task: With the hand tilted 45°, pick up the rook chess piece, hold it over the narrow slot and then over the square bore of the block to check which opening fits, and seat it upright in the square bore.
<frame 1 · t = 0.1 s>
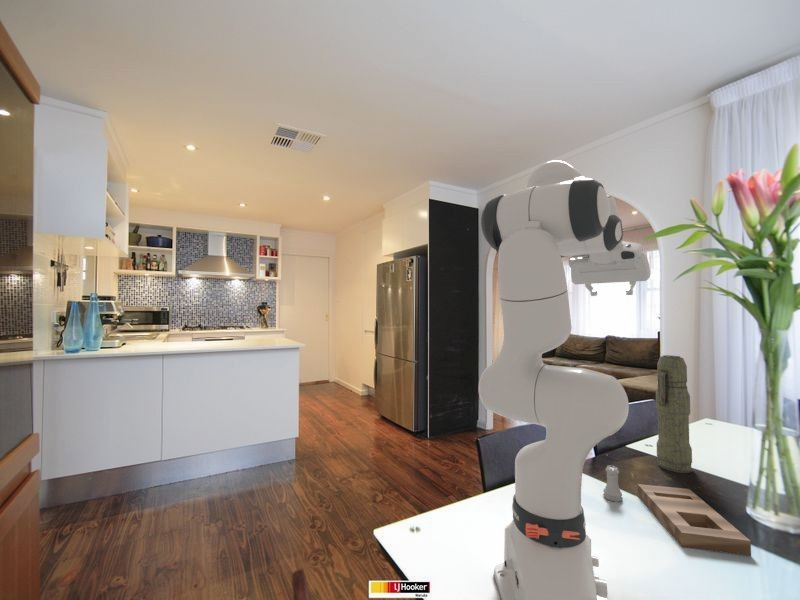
hand: (611, 294, 109), 54 cm above the table, tool tilted 30°, fingers open, 8 cm apart
rook chess piece: (612, 499, 95), on the table
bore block: (686, 521, 84), on the table
thermos: (674, 467, 115), on the table
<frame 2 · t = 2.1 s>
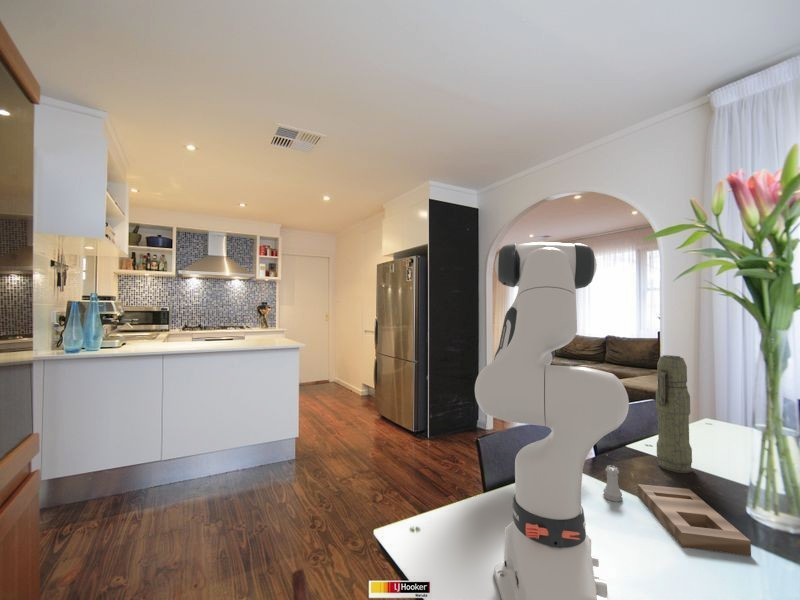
hand: (571, 427, 107), 15 cm above the table, tool tilted 45°, fingers open, 8 cm apart
nothing on the table moved.
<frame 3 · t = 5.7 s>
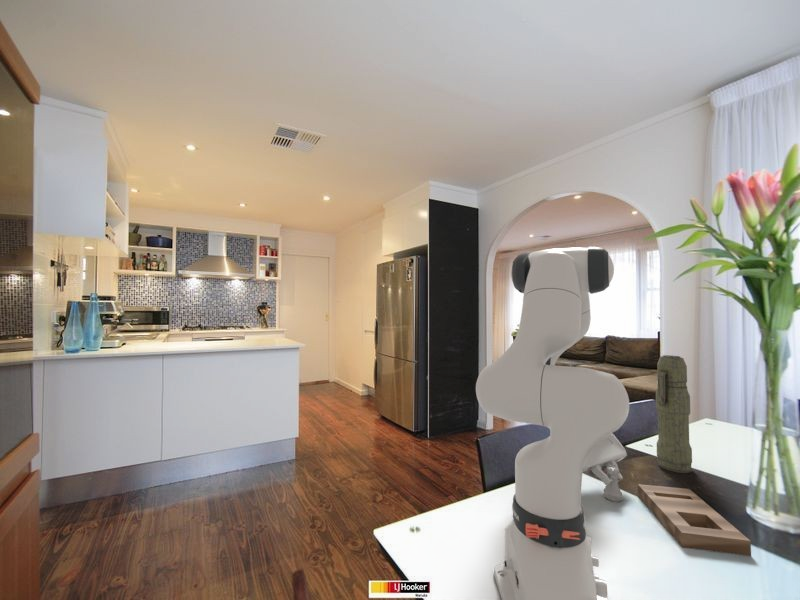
hand: (614, 482, 95), 4 cm above the table, tool tilted 45°, fingers closed on rook chess piece, 3 cm apart
rook chess piece: (612, 498, 95), on the table, touching gripper
everything else where it was.
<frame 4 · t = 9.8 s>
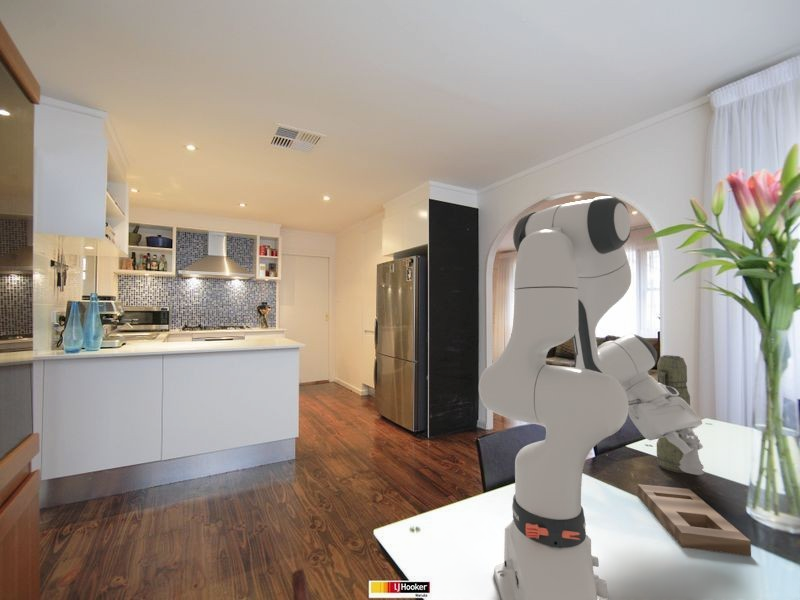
hand: (694, 450, 81), 18 cm above the table, tool tilted 45°, fingers closed on rook chess piece, 3 cm apart
rook chess piece: (691, 472, 82), point 13 cm above the table, touching gripper
everything else where it was.
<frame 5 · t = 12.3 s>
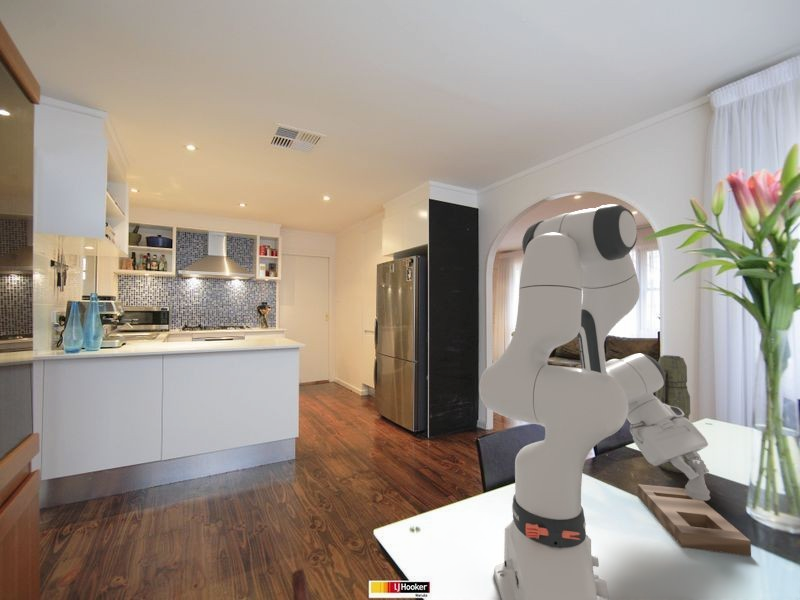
hand: (700, 476, 80), 13 cm above the table, tool tilted 45°, fingers closed on rook chess piece, 3 cm apart
rook chess piece: (697, 497, 80), point 8 cm above the table, touching gripper
everything else where it was.
when the fingers open (6 cm above the table, at t = 14.2 s): rook chess piece drops 1 cm, resting in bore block.
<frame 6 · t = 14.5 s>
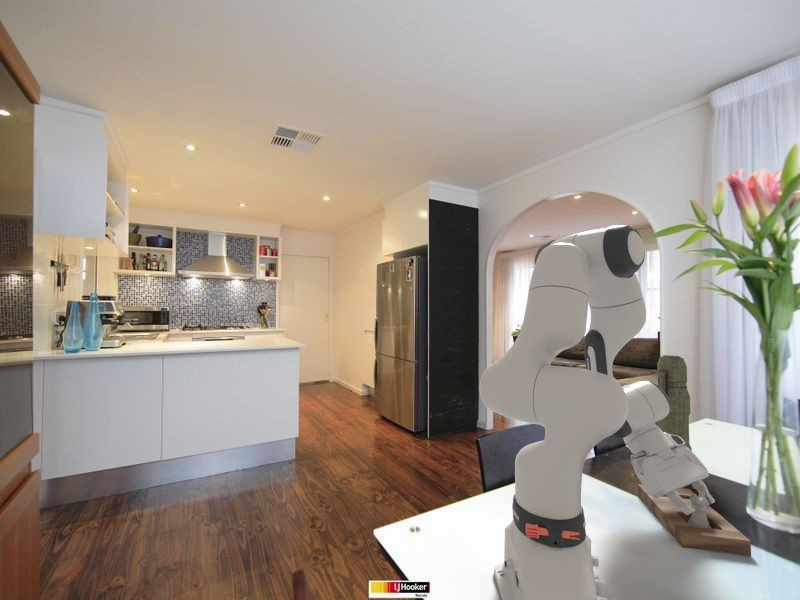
hand: (701, 508, 79), 6 cm above the table, tool tilted 45°, fingers open, 7 cm apart
rook chess piece: (699, 533, 80), resting in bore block
everything else where it was.
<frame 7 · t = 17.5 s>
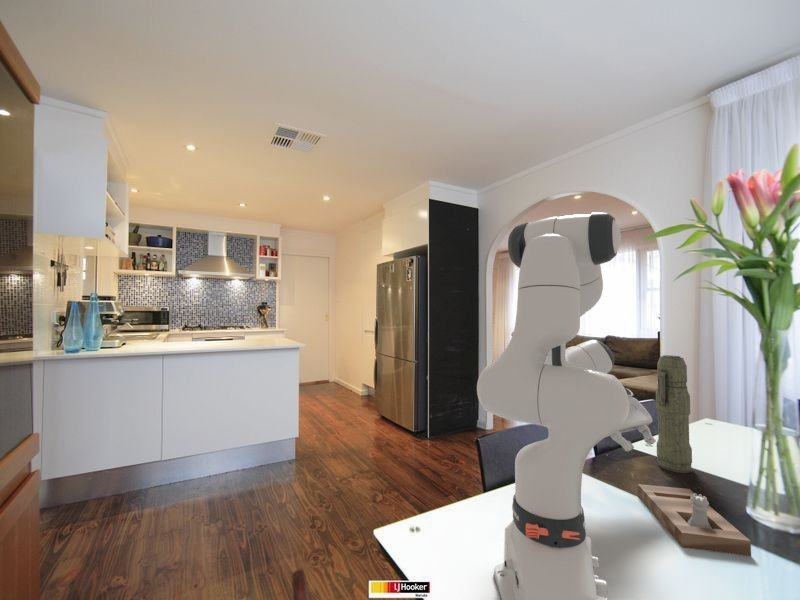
hand: (641, 446, 90), 15 cm above the table, tool tilted 45°, fingers open, 8 cm apart
nothing on the table moved.
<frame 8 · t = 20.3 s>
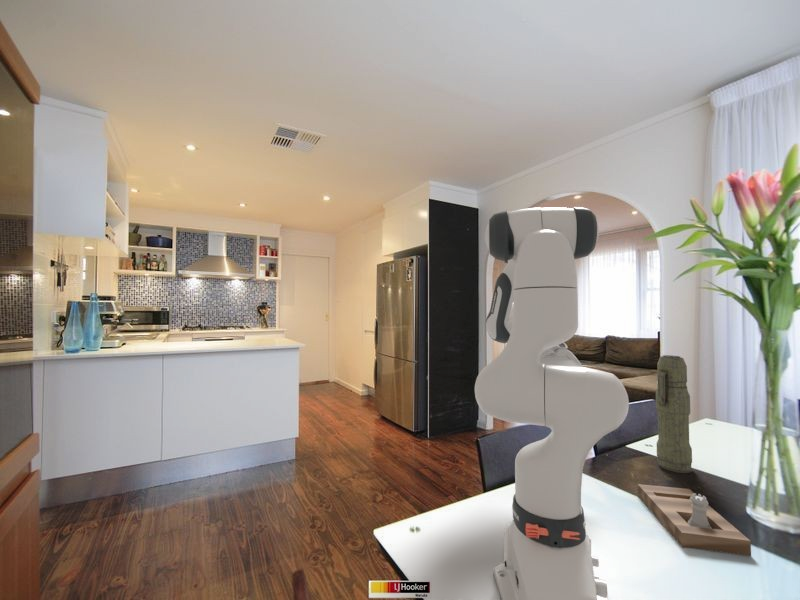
hand: (568, 388, 102), 27 cm above the table, tool tilted 45°, fingers open, 8 cm apart
nothing on the table moved.
at the end: rook chess piece 0.8 cm from the target spot on the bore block, point 0.0 cm above the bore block's base; rook chess piece tilted 1°; the gripper is holding nothing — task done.
